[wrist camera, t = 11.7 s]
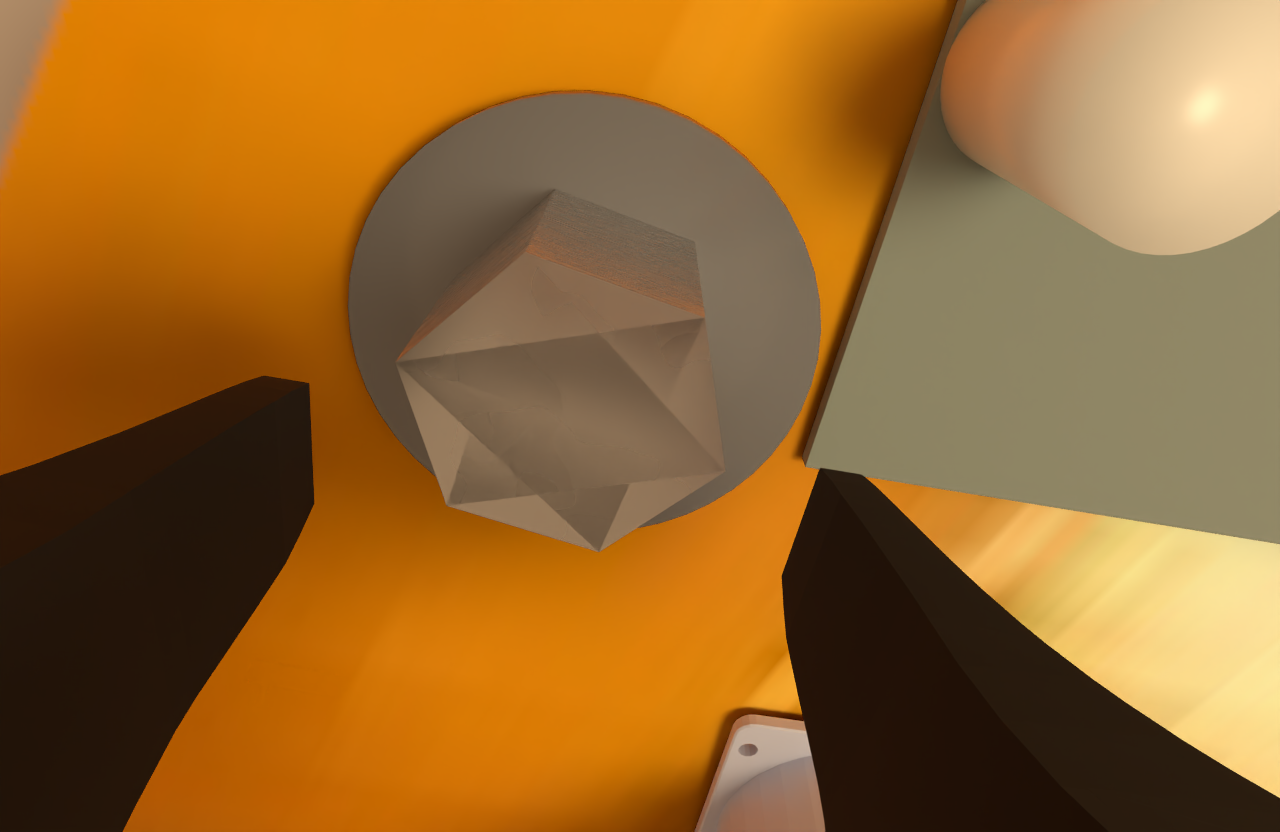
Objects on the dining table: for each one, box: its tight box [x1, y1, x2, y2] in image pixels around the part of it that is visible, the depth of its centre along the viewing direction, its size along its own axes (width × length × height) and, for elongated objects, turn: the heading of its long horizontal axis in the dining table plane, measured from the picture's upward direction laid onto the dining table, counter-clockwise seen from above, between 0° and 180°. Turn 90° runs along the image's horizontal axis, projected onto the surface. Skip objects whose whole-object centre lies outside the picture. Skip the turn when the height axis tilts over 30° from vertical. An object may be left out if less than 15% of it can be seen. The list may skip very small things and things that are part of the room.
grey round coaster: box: [348, 90, 821, 528], centre depth 15 cm, size 9×9×1 cm
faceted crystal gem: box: [395, 189, 725, 552], centre depth 13 cm, size 5×4×4 cm
